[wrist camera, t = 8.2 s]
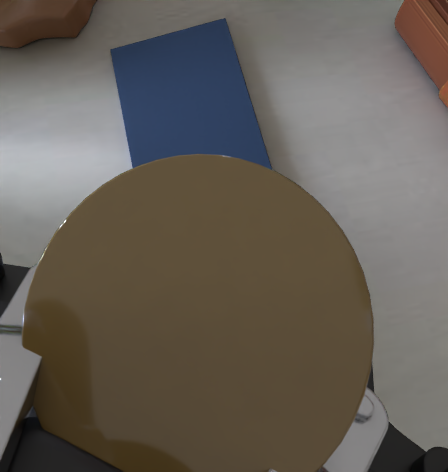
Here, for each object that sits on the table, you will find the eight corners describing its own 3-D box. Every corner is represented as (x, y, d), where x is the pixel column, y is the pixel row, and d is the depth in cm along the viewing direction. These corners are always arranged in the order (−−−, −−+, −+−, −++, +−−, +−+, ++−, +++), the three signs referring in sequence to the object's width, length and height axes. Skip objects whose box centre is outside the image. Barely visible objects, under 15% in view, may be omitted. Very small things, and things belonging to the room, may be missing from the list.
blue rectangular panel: (150, 256, 26) (149, 255, 25) (112, 52, 31) (110, 49, 30) (287, 221, 25) (287, 219, 25) (225, 21, 30) (225, 17, 30)
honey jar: (178, 399, 14) (36, 568, 5) (153, 268, 16) (7, 196, 6) (310, 366, 14) (435, 471, 5) (272, 238, 16) (310, 118, 6)
